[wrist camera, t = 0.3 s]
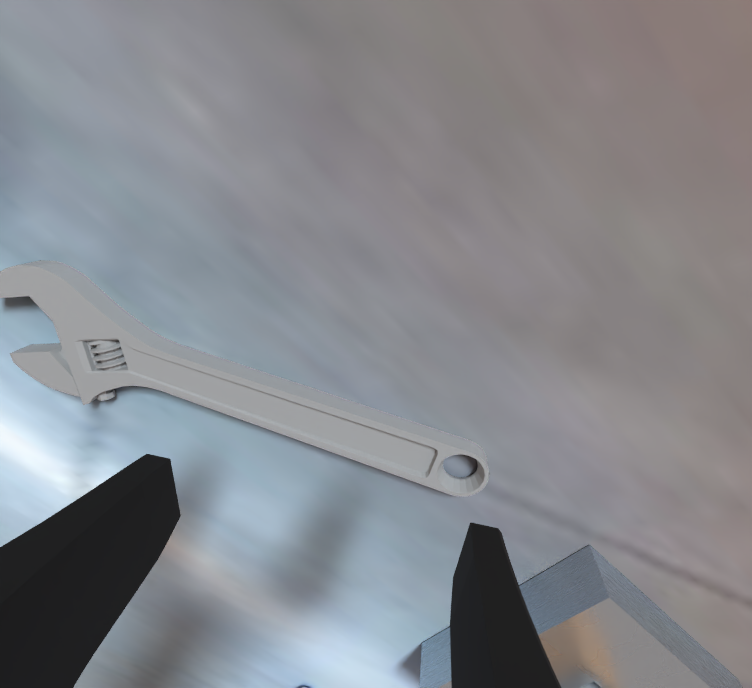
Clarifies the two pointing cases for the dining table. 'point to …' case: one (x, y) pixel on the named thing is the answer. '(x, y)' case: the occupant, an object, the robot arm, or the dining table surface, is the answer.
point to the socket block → (598, 633)
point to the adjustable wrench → (217, 382)
